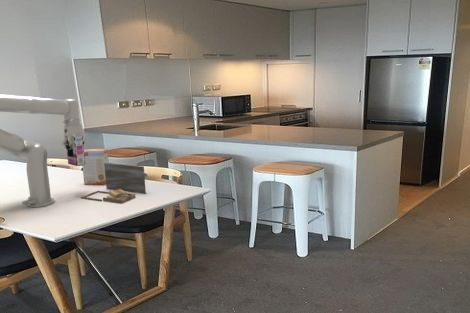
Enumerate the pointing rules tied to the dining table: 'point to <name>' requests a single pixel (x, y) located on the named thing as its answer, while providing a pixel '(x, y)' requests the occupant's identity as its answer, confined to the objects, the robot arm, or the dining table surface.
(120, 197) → the offcut middle
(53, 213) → the dining table surface
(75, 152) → the candy bar box
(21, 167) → the dining table surface
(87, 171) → the cracker box
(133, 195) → the rack
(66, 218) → the dining table surface
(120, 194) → the offcut top
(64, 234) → the dining table surface
